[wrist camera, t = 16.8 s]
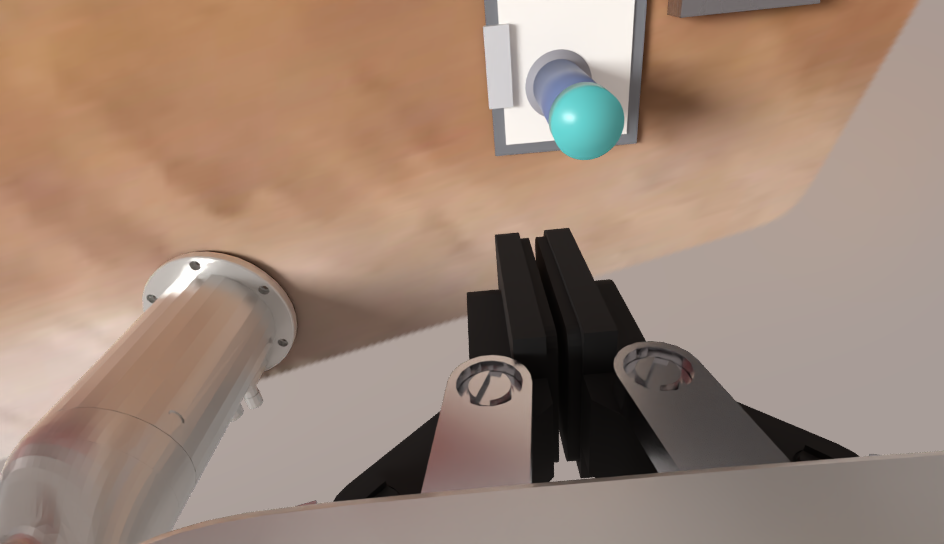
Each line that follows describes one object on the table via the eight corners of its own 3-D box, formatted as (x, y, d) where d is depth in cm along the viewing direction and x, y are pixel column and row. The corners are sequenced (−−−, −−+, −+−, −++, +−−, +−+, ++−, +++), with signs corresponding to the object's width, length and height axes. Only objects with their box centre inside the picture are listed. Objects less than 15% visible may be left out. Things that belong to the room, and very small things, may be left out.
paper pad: (634, 141, 36) (639, 146, 35) (492, 154, 37) (493, 159, 36) (648, -58, 30) (655, -59, 29) (478, -39, 31) (478, -39, 30)
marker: (531, 115, 35) (551, 161, 26) (531, 59, 33) (553, 90, 25) (584, 112, 34) (621, 157, 26) (587, 55, 33) (628, 85, 25)
